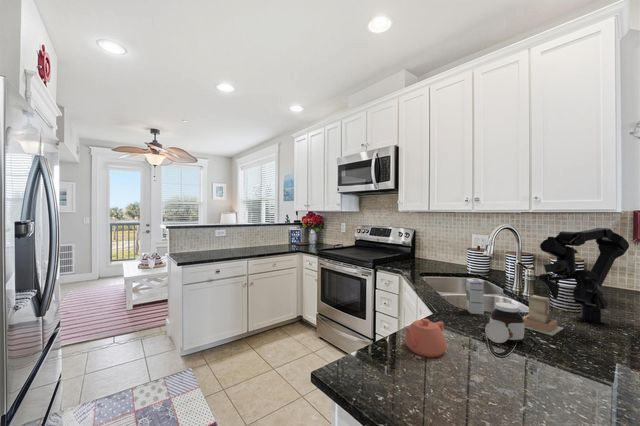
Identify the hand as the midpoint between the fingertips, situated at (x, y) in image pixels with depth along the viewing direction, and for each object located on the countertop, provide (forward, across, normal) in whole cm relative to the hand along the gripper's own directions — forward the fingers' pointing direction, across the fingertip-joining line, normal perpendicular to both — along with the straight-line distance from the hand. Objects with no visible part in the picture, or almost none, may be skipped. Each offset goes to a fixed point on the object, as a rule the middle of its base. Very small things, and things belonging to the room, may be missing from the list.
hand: (567, 298), depth 108 cm
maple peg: (+12, -7, -5) cm, 15 cm away
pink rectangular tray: (+12, -7, -5) cm, 15 cm away
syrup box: (+11, -26, -18) cm, 34 cm away
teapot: (+34, 0, -57) cm, 66 cm away
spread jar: (+23, -1, -26) cm, 35 cm away
